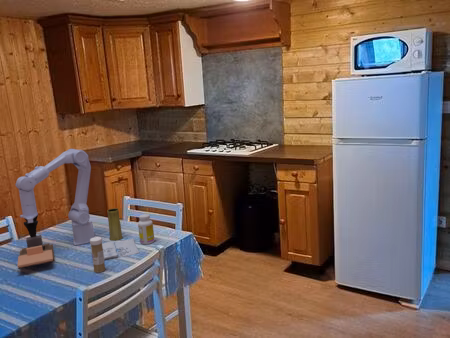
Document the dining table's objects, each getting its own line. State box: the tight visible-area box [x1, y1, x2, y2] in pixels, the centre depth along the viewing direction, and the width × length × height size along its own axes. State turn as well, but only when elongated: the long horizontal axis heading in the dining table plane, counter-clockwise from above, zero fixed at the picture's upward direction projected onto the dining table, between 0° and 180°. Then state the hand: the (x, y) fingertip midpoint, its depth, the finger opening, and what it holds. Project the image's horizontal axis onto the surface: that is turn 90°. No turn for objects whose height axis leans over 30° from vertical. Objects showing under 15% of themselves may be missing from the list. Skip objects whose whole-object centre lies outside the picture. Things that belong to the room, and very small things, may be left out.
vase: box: [106, 207, 124, 242], centre depth 201 cm, size 6×6×14 cm
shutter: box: [16, 245, 54, 269], centre depth 174 cm, size 13×11×4 cm
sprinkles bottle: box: [89, 236, 106, 274], centre depth 167 cm, size 5×5×14 cm
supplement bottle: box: [137, 213, 155, 245], centre depth 194 cm, size 7×7×13 cm
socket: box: [18, 243, 55, 269], centre depth 186 cm, size 14×20×3 cm
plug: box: [26, 234, 44, 250], centre depth 185 cm, size 6×4×8 cm, turn 114°
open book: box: [90, 238, 140, 261], centre depth 188 cm, size 19×20×2 cm
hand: (33, 234), depth 184 cm, fingers open, 7 cm apart
